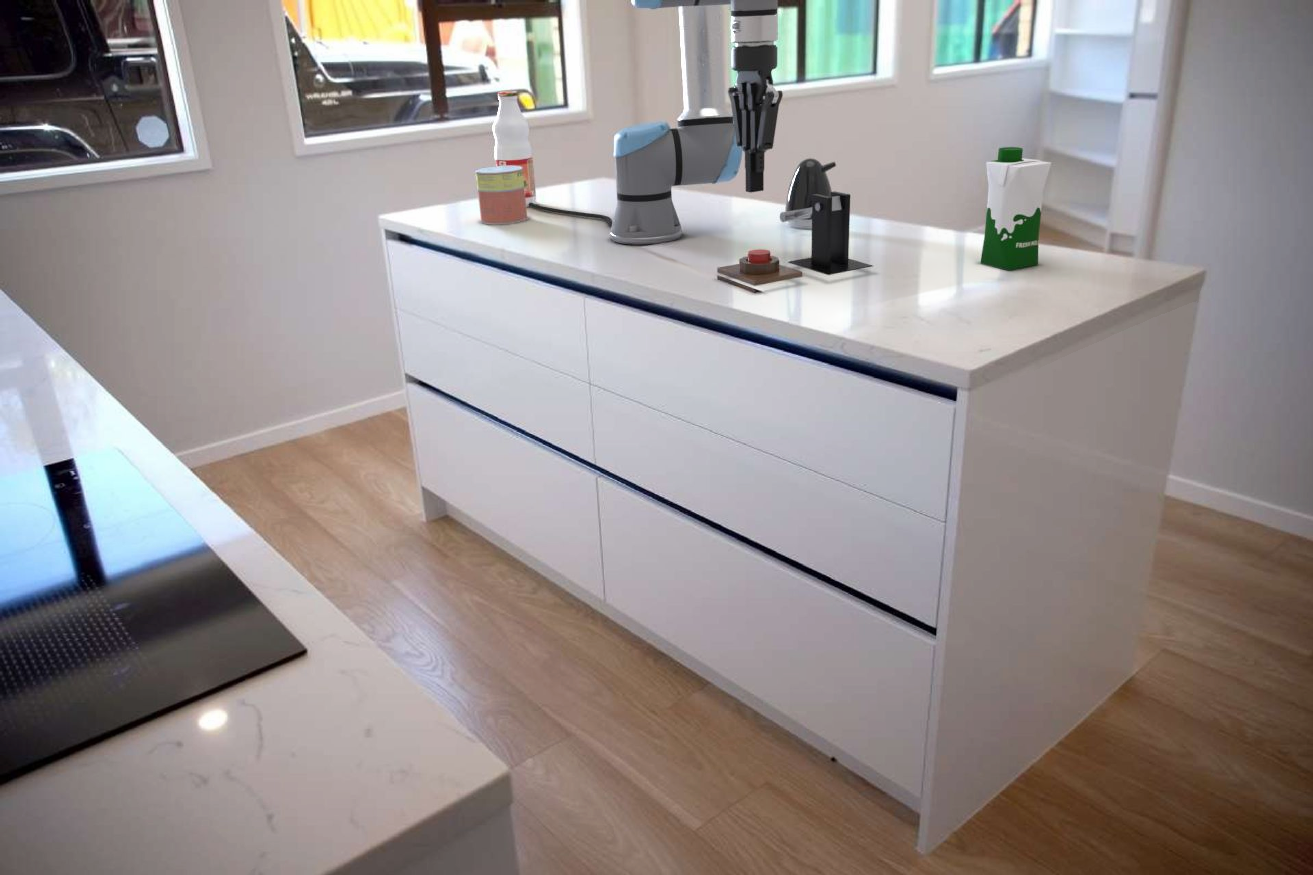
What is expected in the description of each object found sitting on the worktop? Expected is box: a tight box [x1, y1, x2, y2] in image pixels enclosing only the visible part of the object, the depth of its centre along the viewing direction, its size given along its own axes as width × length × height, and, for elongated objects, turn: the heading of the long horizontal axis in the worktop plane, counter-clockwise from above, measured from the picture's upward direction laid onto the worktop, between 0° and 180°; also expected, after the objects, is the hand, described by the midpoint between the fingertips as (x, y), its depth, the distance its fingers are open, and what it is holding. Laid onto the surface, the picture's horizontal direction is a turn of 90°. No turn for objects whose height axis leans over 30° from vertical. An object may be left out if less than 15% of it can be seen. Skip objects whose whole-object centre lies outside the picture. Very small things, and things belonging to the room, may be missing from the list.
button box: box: [716, 255, 803, 294], centre depth 175 cm, size 12×10×4 cm
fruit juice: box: [492, 90, 537, 208], centre depth 252 cm, size 9×9×28 cm
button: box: [747, 248, 772, 263], centre depth 174 cm, size 4×4×2 cm
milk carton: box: [979, 146, 1052, 271], centre depth 176 cm, size 9×9×20 cm
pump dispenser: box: [784, 157, 837, 230], centre depth 210 cm, size 10×10×15 cm
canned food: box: [474, 165, 529, 226], centre depth 238 cm, size 11×11×12 cm
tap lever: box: [779, 196, 842, 223], centre depth 181 cm, size 13×6×2 cm, turn 29°
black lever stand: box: [787, 190, 874, 276], centre depth 178 cm, size 12×10×14 cm
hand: (754, 190), depth 172 cm, fingers closed
